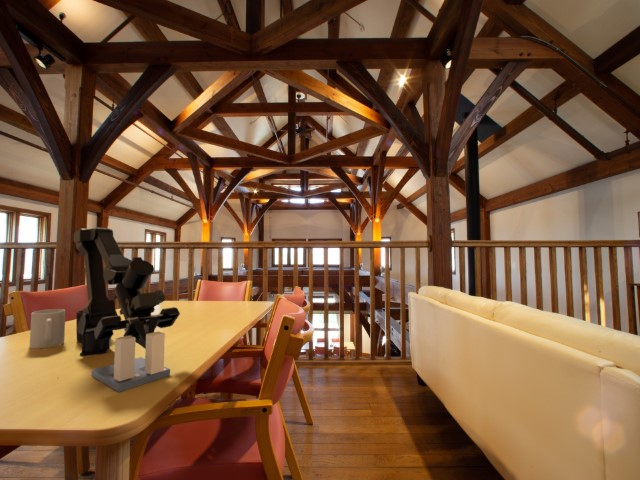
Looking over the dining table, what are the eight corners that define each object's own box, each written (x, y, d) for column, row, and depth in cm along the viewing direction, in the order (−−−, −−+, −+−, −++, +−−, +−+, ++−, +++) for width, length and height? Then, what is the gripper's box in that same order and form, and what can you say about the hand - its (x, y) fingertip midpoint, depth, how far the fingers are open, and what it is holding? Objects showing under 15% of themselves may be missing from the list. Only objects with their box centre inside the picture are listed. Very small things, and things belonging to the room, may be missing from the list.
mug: (29, 344, 100) (31, 310, 100) (63, 339, 105) (65, 307, 106) (28, 353, 91) (30, 316, 91) (65, 347, 97) (67, 313, 97)
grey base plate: (91, 376, 75) (92, 369, 75) (140, 362, 84) (140, 356, 84) (118, 392, 66) (119, 384, 66) (169, 375, 76) (170, 368, 76)
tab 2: (144, 371, 73) (146, 333, 74) (157, 367, 76) (158, 331, 76) (151, 374, 71) (152, 335, 72) (163, 370, 74) (164, 333, 74)
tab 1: (113, 378, 69) (115, 338, 70) (128, 374, 72) (129, 335, 72) (119, 381, 67) (121, 340, 68) (134, 377, 70) (135, 337, 70)
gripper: (101, 283, 71) (120, 339, 64) (177, 278, 86) (199, 322, 79) (86, 313, 75) (103, 368, 68) (161, 303, 90) (181, 347, 84)
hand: (151, 350), depth 75 cm, fingers closed, pressing on tab 2
